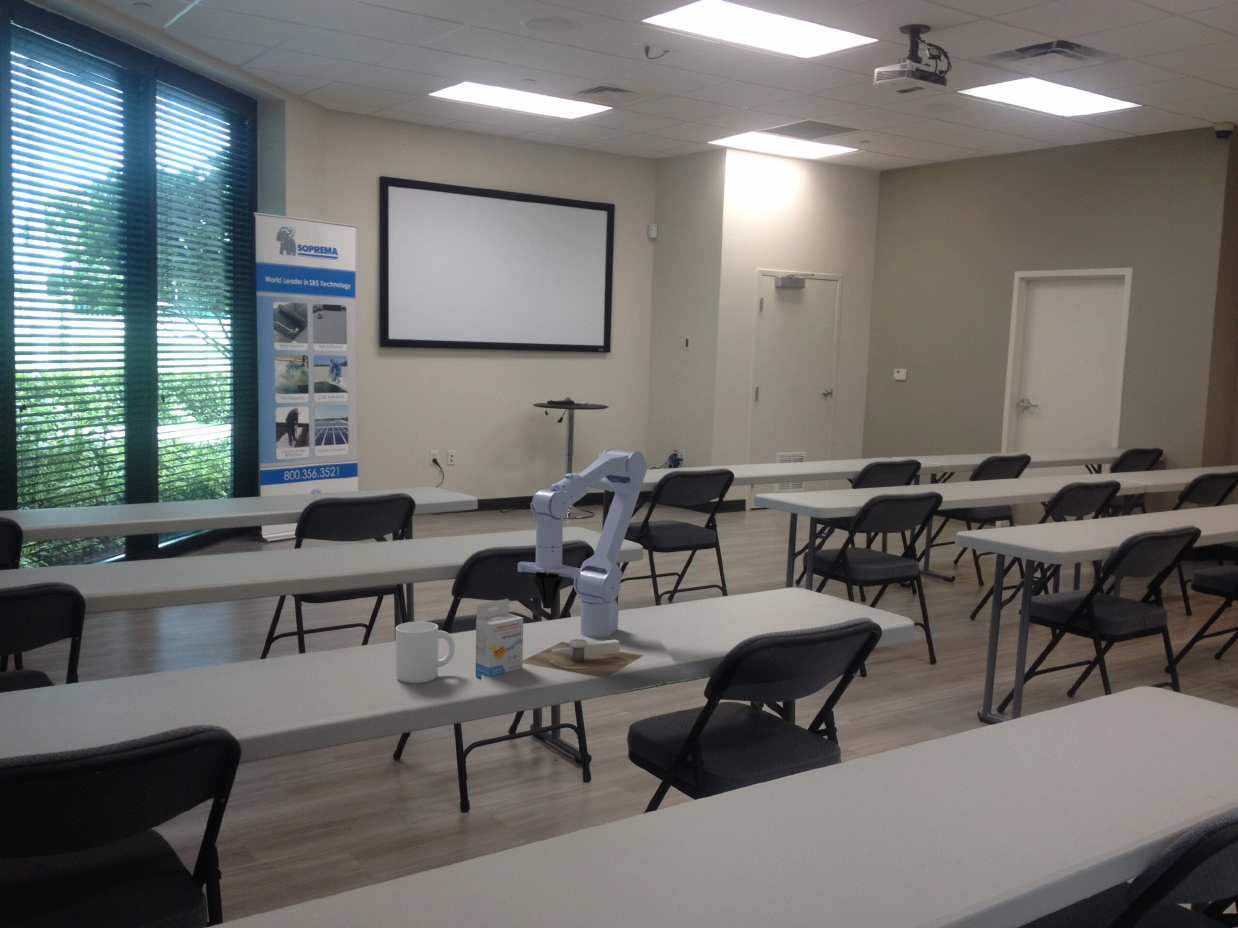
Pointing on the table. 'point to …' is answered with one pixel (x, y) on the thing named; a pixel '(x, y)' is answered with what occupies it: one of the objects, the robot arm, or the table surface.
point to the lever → (589, 648)
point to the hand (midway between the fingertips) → (548, 607)
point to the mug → (420, 651)
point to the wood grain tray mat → (589, 666)
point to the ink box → (498, 639)
